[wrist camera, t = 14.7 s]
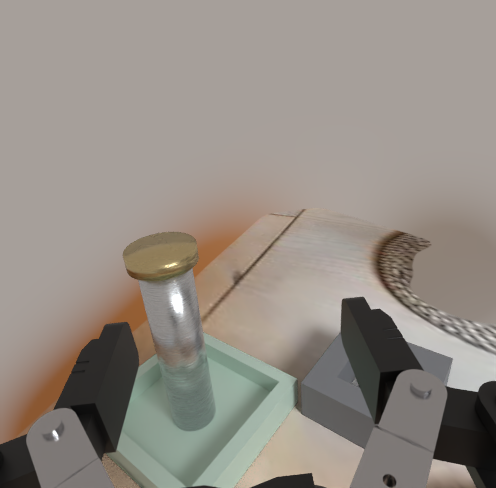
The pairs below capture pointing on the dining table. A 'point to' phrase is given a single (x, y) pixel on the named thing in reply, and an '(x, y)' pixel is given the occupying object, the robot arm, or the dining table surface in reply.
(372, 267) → the dining table surface
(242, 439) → the tray
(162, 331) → the steel pin
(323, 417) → the socket block
